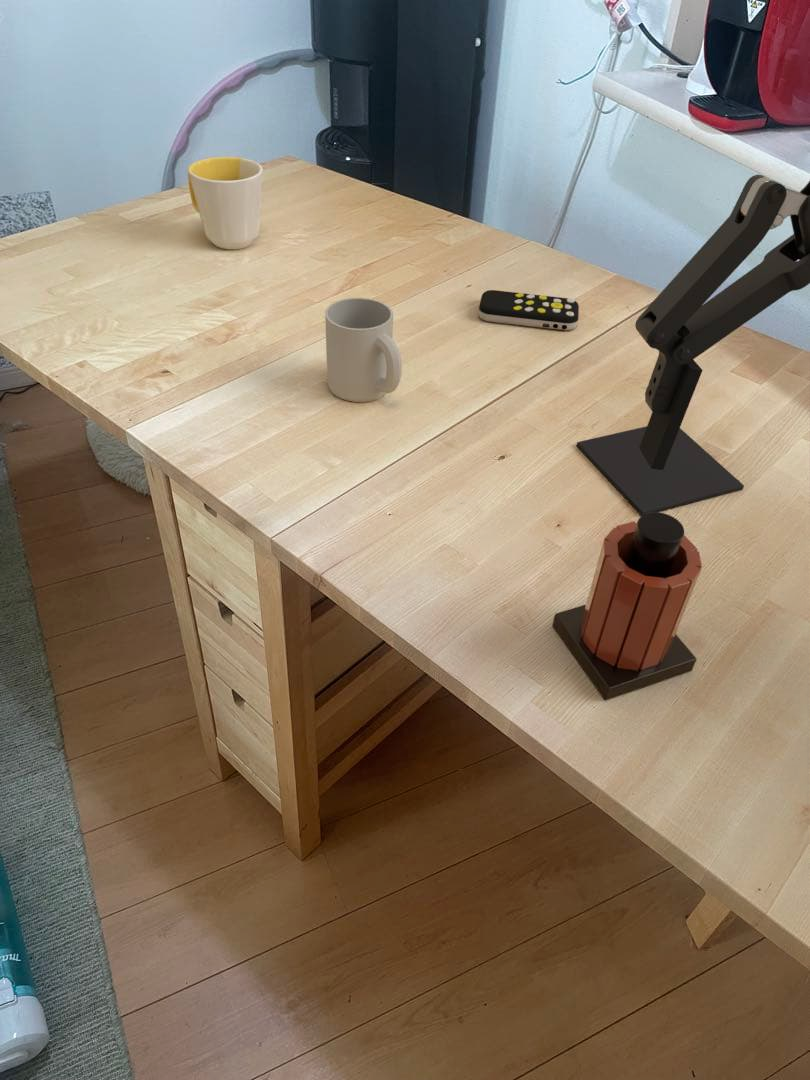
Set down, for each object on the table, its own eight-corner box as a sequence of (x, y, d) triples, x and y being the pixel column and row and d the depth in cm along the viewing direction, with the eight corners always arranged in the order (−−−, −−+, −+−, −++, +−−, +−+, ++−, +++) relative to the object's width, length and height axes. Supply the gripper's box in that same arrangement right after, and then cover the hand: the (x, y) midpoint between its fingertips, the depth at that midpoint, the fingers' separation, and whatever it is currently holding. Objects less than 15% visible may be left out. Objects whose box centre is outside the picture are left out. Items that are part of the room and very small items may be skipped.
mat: (743, 489, 80) (744, 485, 80) (641, 516, 77) (643, 512, 77) (670, 424, 89) (671, 420, 88) (576, 445, 85) (576, 442, 85)
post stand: (692, 671, 63) (745, 550, 55) (605, 700, 61) (646, 579, 52) (633, 600, 69) (673, 480, 60) (551, 625, 66) (580, 504, 57)
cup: (361, 362, 96) (362, 291, 90) (421, 398, 91) (425, 325, 84) (314, 383, 92) (311, 311, 86) (373, 422, 87) (374, 347, 81)
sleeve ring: (686, 655, 63) (721, 573, 56) (611, 680, 60) (639, 597, 54) (636, 595, 67) (663, 512, 61) (565, 616, 65) (586, 533, 59)
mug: (280, 247, 119) (275, 172, 112) (216, 262, 114) (206, 185, 107) (239, 216, 127) (231, 144, 120) (177, 228, 122) (165, 155, 115)
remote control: (481, 300, 109) (483, 286, 107) (577, 311, 107) (580, 296, 106) (476, 321, 104) (478, 307, 103) (576, 333, 103) (579, 318, 101)
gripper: (1097, 132, 44) (900, 470, 56) (664, 42, 41) (551, 419, 53) (1216, 155, 38) (967, 530, 49) (716, 50, 35) (575, 476, 46)
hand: (752, 474), depth 51 cm, fingers open, 13 cm apart
